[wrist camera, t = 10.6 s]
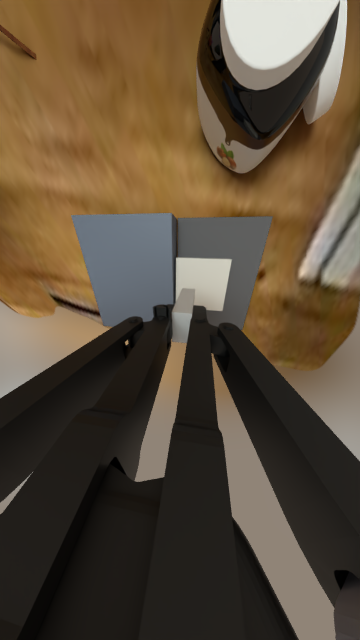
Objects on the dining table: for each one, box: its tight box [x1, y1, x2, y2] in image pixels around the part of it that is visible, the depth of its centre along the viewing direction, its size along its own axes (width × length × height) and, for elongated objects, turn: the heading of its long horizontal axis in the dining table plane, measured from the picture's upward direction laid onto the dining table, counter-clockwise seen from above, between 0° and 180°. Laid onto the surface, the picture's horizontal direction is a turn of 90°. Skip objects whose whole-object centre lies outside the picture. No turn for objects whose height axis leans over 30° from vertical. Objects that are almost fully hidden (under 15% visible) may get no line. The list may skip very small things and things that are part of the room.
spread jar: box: [196, 0, 347, 173], centre depth 11 cm, size 12×11×12 cm
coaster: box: [176, 257, 232, 311], centre depth 25 cm, size 9×9×2 cm
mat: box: [178, 216, 273, 330], centre depth 26 cm, size 14×20×1 cm
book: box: [71, 213, 177, 327], centre depth 27 cm, size 16×20×4 cm
